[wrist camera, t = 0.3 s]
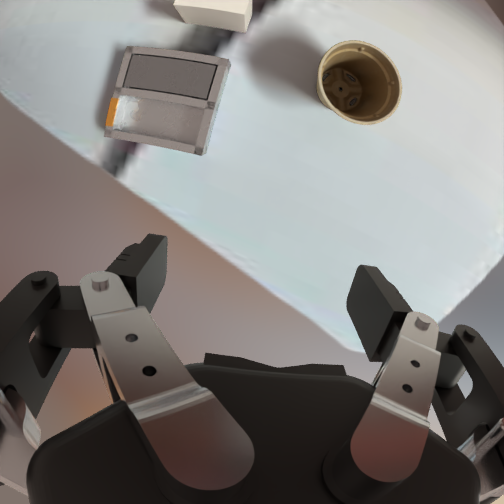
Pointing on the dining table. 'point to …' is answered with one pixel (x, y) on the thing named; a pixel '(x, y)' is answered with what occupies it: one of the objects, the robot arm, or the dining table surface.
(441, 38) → the dining table surface
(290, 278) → the dining table surface
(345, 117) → the flower pot
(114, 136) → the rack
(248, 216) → the dining table surface
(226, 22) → the panel
